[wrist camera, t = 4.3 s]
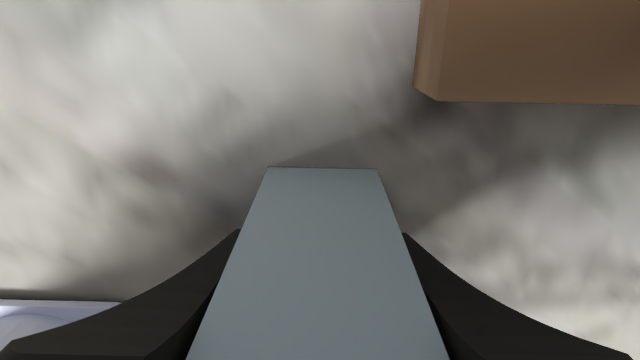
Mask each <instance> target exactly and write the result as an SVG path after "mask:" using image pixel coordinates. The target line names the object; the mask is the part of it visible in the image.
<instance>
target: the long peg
mask: <svg viewBox="0 0 640 360" xmlns="http://www.w3.org/2000/svg"><path fill="white" fill-rule="evenodd" d="M186 360H450V359H449V357H448V354H447V351H446V349H445V346H444V344H443V341H442V338H441V336H440V333H439V330H438V328H437V325H436V323H435V320H434V317H433V315H432V312H431V310H430V307H429V304H428V302H427V299H426V296H425V294H424V291H423V289H422V286H421V283H420V281H419V278H418V276H417V273H416V270H415V268H414V265H413V262H412V260H411V257H410V255H409V252H408V249H407V247H406V244H405V241H404V239H403V236H402V234H401V231H400V228H399V226H398V223H397V221H396V218H395V215H394V213H393V210H392V207H391V205H390V202H389V200H388V197H387V194H386V192H385V189H384V187H383V184H382V181H381V179H380V176H379V173H378V171H377V169H341V168H292V167H268V168H267V171H266V173H265V175H264V178H263V180H262V182H261V185H260V187H259V189H258V192H257V194H256V196H255V199H254V201H253V203H252V206H251V208H250V210H249V213H248V215H247V217H246V220H245V222H244V224H243V227H242V229H241V231H240V234H239V236H238V238H237V241H236V243H235V245H234V248H233V250H232V252H231V255H230V257H229V259H228V262H227V264H226V266H225V269H224V271H223V273H222V276H221V278H220V280H219V283H218V285H217V287H216V290H215V292H214V294H213V297H212V299H211V301H210V304H209V306H208V308H207V311H206V313H205V315H204V318H203V320H202V322H201V325H200V327H199V329H198V332H197V334H196V336H195V339H194V341H193V343H192V346H191V348H190V350H189V353H188V355H187V357H186Z"/></svg>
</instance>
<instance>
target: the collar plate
mask: <svg viewBox="0 0 640 360" xmlns="http://www.w3.org/2000/svg"><path fill="white" fill-rule="evenodd" d="M413 87H414V88H416V89H417V90H419V91H421V92H422V93H424V94H426V95H427V96H429V97H431V98H432V99H434V100H436V101H459V102H511V103H563V104H614V105H640V0H421V8H420V17H419V27H418V37H417V47H416V57H415V67H414V77H413Z"/></svg>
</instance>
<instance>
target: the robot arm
mask: <svg viewBox="0 0 640 360" xmlns="http://www.w3.org/2000/svg"><path fill="white" fill-rule="evenodd" d="M240 231H241V229H237V230H235V231H234V232H233V233H231V234H230V235H229V236H227V237H226V238H225V239H224V240H223V241H221V242H220V243H219V244H218V245H216V246H215V247H214V248H212V249H211V250H210V251H209V252H207V253H206V254H205V255H203V256H202V257H201V258H199V259H198V260H197V261H195V262H194V263H192V264H191V265H189V266H188V267H186V268H185V269H184V270H182V271H181V272H179V273H178V274H176V275H175V276H173V277H171V278H170V279H168V280H166V281H165V282H163V283H161V284H159V285H157V286H156V287H154V288H152V289H150V290H148V291H146V292H144V293H142V294H140V295H138V296H136V297H134V298H131V299H129V300H127V301H125V302H123V303H119V302H93V301H48V300H3V299H0V360H186V357H187V355H188V353H189V350H190V348H191V346H192V343H193V341H194V339H195V336H196V334H197V332H198V329H199V327H200V325H201V322H202V320H203V318H204V315H205V313H206V311H207V308H208V306H209V304H210V301H211V299H212V297H213V294H214V292H215V290H216V287H217V285H218V283H219V280H220V278H221V276H222V273H223V271H224V269H225V266H226V264H227V262H228V259H229V257H230V255H231V252H232V250H233V248H234V245H235V243H236V241H237V238H238V236H239V234H240ZM401 234H402V236H403V239H404V241H405V244H406V247H407V249H408V252H409V255H410V257H411V260H412V262H413V265H414V268H415V270H416V273H417V276H418V278H419V281H420V283H421V286H422V289H423V291H424V294H425V296H426V299H427V302H428V304H429V307H430V310H431V312H432V315H433V317H434V320H435V323H436V325H437V328H438V330H439V333H440V336H441V338H442V341H443V344H444V346H445V349H446V351H447V354H448V357H449V359H450V360H633V359H632V358H631V357H630V356H629V355H628V354H626V353H623V352H620V351H617V350H614V349H611V348H608V347H605V346H602V345H599V344H596V343H593V342H590V341H587V340H584V339H581V338H578V337H575V336H573V335H570V334H568V333H565V332H563V331H560V330H558V329H555V328H553V327H550V326H548V325H545V324H543V323H541V322H539V321H536V320H534V319H532V318H530V317H528V316H525V315H523V314H521V313H519V312H517V311H515V310H513V309H511V308H509V307H507V306H505V305H504V304H502V303H500V302H498V301H496V300H495V299H493V298H491V297H490V296H488V295H486V294H485V293H483V292H481V291H480V290H478V289H476V288H475V287H473V286H472V285H470V284H469V283H467V282H466V281H464V280H463V279H462V278H460V277H459V276H457V275H456V274H455V273H453V272H452V271H451V270H449V269H448V268H447V267H445V266H444V265H443V264H442V263H440V262H439V261H438V260H437V259H435V258H434V257H433V256H432V255H431V254H430V253H428V252H427V251H426V250H425V249H424V248H423V247H422V246H420V245H419V244H418V243H417V242H416V241H415V240H414V239H412V238H411V237H410V236H409V235H408V234H406V233H401Z"/></svg>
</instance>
